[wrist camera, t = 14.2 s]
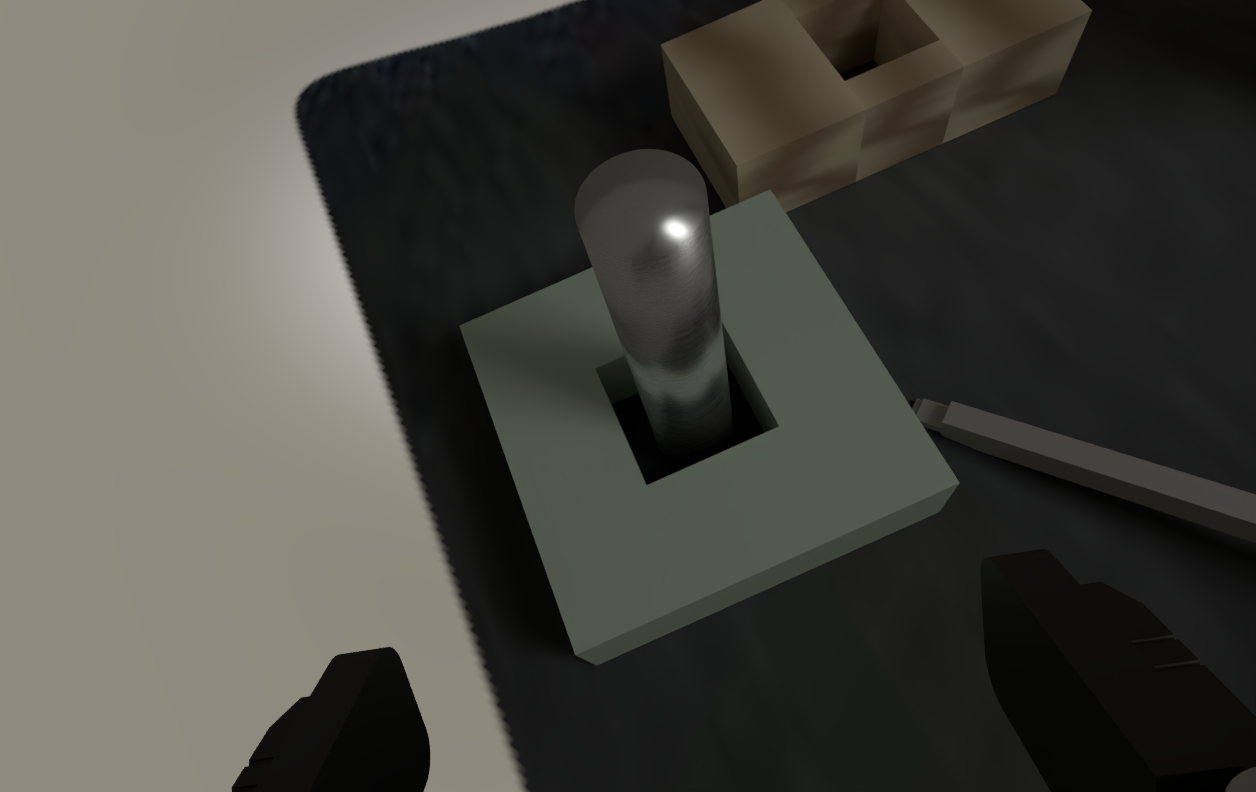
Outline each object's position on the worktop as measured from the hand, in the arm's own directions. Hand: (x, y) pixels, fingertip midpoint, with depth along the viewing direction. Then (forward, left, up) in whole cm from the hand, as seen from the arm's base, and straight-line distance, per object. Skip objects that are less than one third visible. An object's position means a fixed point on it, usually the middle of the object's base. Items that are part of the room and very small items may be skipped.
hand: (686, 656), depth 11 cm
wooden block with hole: (-17, -23, -19) cm, 34 cm away
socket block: (-3, -11, -19) cm, 22 cm away
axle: (-3, -10, -19) cm, 22 cm away
